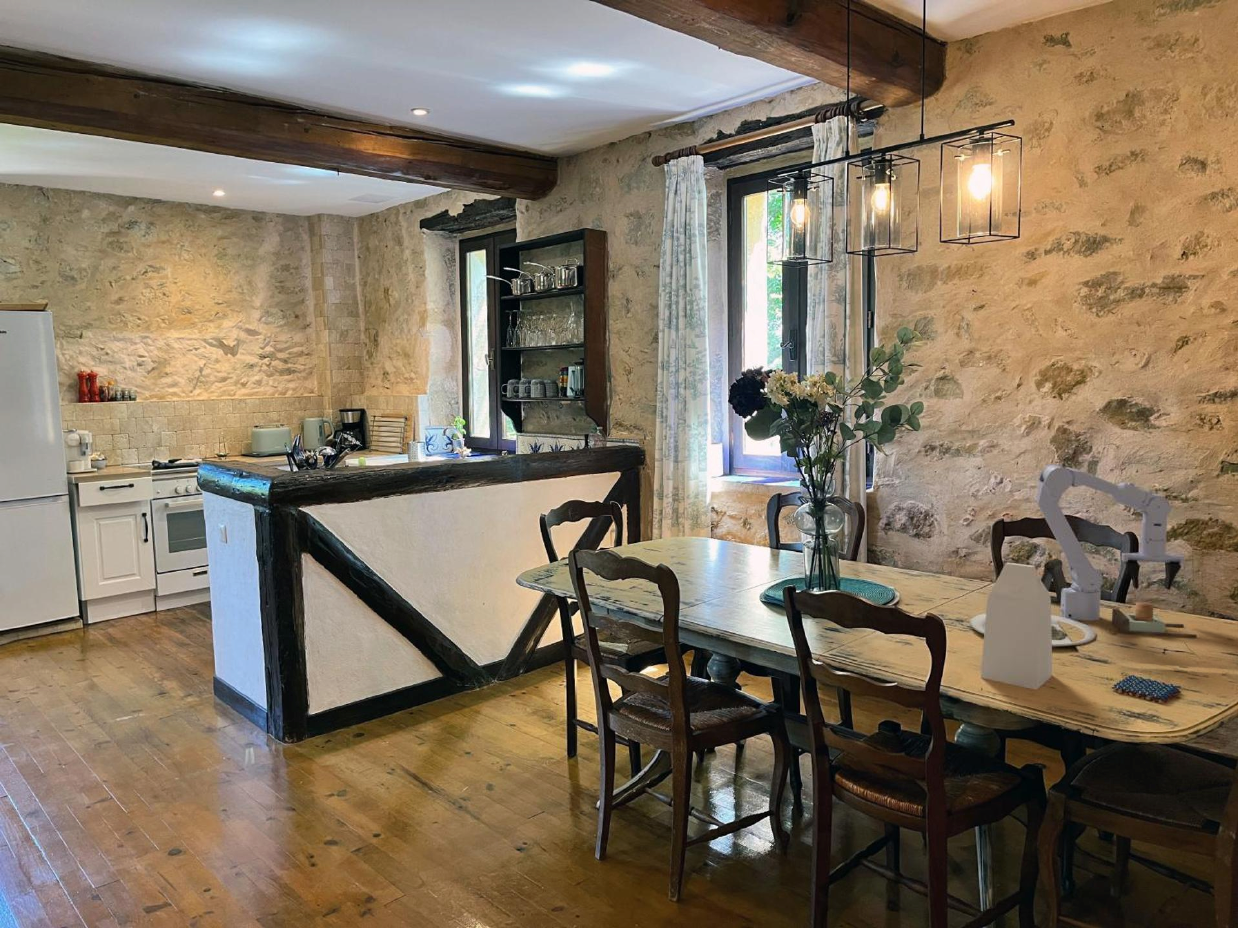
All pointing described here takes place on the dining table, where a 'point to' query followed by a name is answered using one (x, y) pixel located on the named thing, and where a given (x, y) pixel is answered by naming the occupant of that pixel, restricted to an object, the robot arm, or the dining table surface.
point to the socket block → (1146, 624)
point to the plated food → (1056, 630)
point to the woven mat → (1146, 688)
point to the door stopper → (1054, 578)
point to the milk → (1018, 629)
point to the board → (1123, 626)
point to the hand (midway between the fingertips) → (1151, 588)
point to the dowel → (1144, 611)
